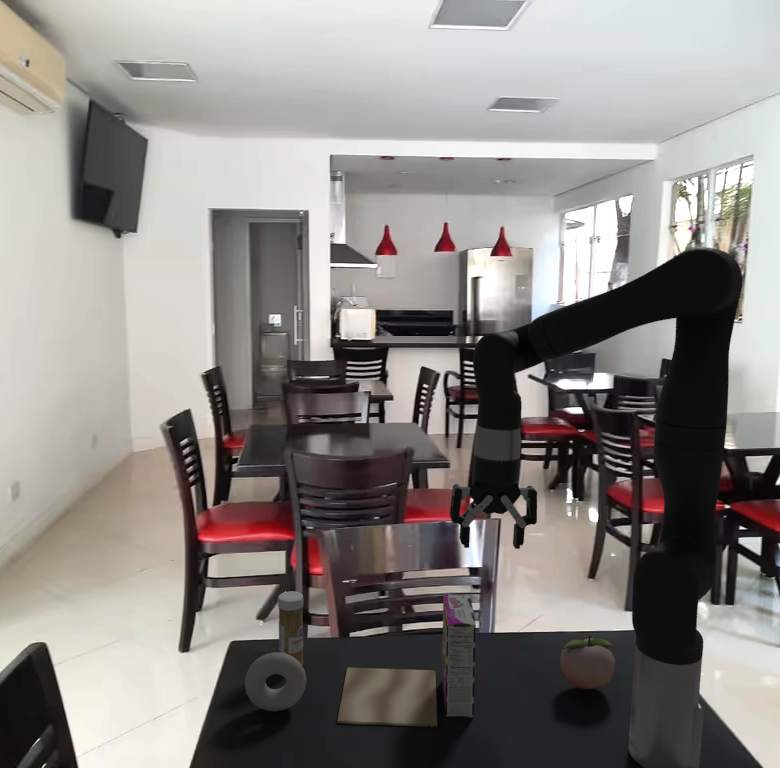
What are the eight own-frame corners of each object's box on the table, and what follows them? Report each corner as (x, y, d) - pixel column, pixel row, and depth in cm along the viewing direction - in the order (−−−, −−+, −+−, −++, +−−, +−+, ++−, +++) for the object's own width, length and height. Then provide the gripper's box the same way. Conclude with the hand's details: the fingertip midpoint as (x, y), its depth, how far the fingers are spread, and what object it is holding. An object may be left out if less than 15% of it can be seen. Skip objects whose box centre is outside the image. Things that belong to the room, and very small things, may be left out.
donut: (244, 718, 117) (243, 660, 115) (245, 705, 120) (244, 649, 119) (306, 714, 118) (306, 657, 116) (306, 701, 121) (306, 646, 120)
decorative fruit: (577, 708, 120) (581, 652, 119) (551, 682, 128) (554, 629, 127) (625, 698, 123) (628, 643, 122) (596, 673, 131) (599, 621, 130)
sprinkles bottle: (301, 671, 130) (300, 601, 128) (276, 670, 131) (275, 600, 129) (305, 658, 135) (305, 590, 133) (281, 657, 135) (280, 589, 133)
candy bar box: (440, 680, 128) (442, 593, 126) (468, 681, 128) (471, 593, 126) (443, 718, 117) (446, 623, 115) (474, 719, 117) (477, 624, 115)
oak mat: (435, 672, 131) (435, 670, 131) (437, 726, 115) (437, 724, 115) (347, 669, 131) (347, 667, 131) (337, 723, 116) (337, 720, 115)
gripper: (457, 457, 114) (452, 555, 117) (545, 459, 115) (538, 556, 118) (450, 446, 122) (446, 538, 124) (533, 448, 122) (527, 539, 125)
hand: (491, 546), depth 121 cm, fingers open, 8 cm apart
